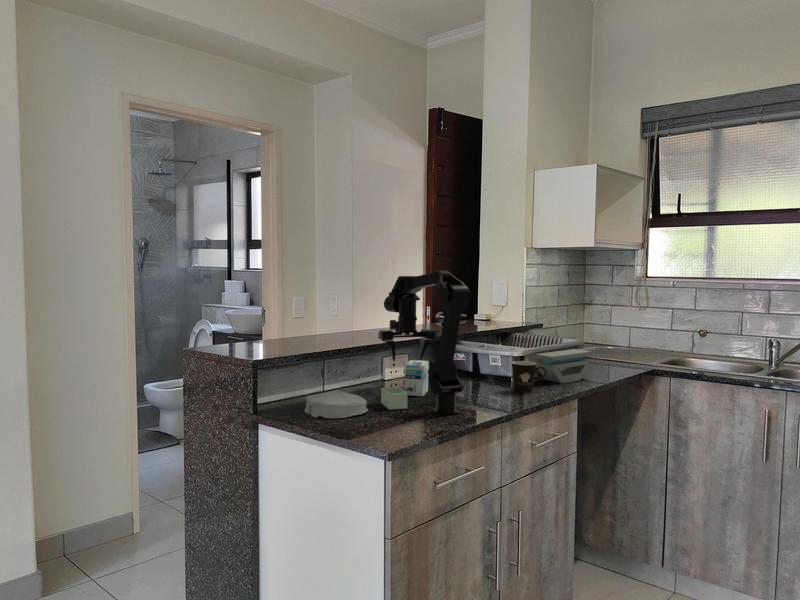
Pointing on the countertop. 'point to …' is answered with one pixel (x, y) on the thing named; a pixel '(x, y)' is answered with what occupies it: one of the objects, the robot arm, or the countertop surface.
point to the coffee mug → (524, 375)
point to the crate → (394, 398)
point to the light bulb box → (416, 377)
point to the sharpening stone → (564, 365)
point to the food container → (335, 405)
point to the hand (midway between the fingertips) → (407, 360)
